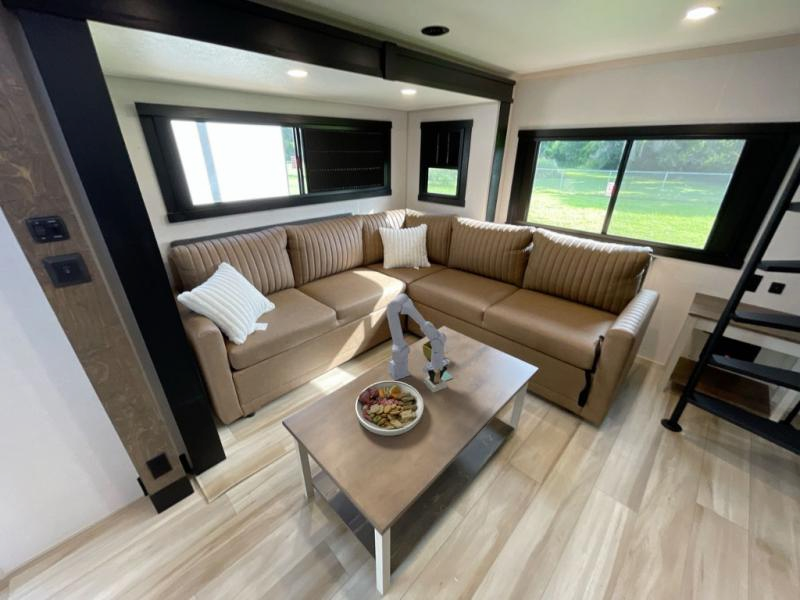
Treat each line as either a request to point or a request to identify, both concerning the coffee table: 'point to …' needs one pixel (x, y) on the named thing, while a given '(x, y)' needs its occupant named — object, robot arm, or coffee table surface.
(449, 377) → the pad
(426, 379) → the socket block
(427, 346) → the flower pot
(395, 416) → the bowl
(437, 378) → the dowel
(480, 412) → the coffee table surface
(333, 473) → the coffee table surface
